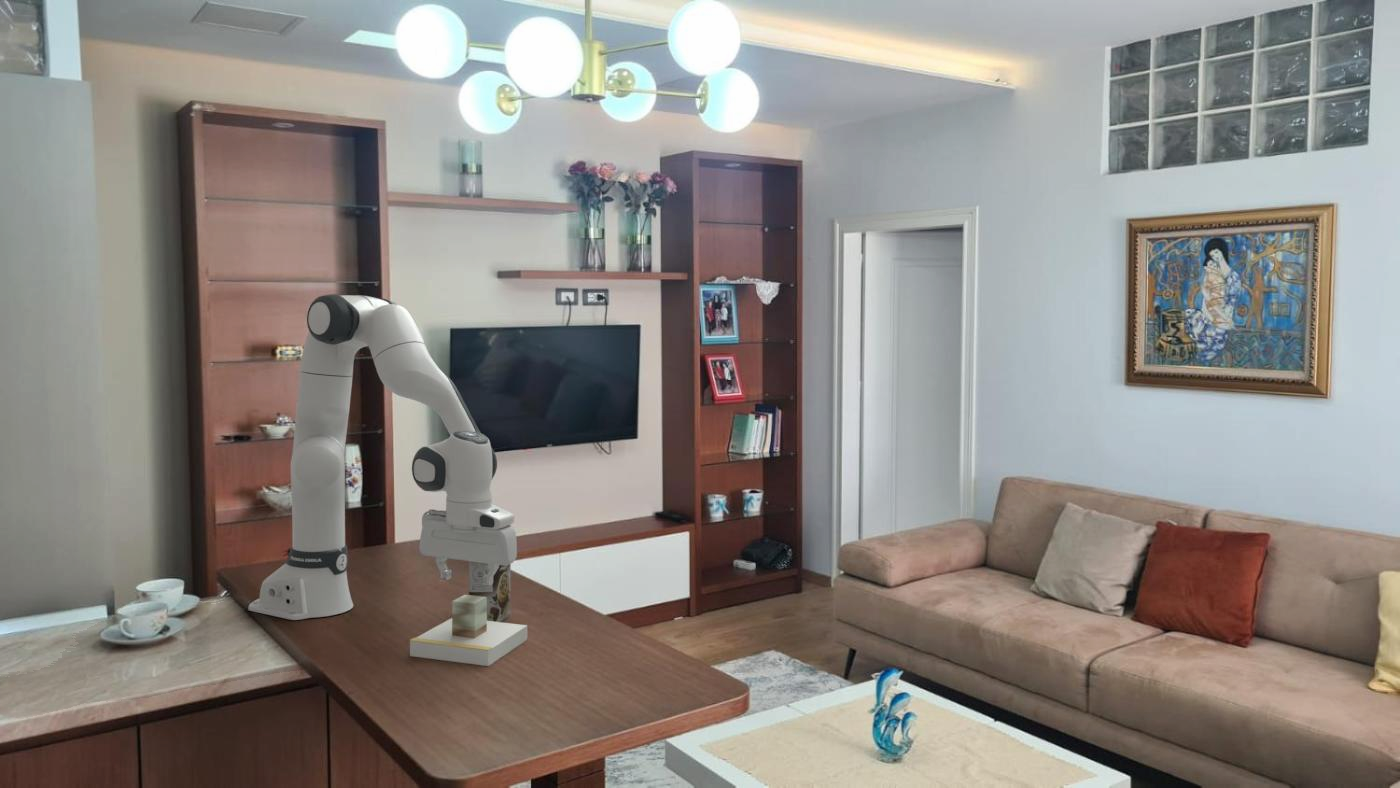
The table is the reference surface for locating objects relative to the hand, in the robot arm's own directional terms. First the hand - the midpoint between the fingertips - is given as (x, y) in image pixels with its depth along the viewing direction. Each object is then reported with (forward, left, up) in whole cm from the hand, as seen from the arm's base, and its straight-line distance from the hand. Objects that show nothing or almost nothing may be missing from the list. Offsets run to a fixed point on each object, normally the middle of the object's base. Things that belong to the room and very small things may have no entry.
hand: (466, 581), depth 214 cm
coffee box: (-4, +19, -14) cm, 24 cm away
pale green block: (0, 0, -11) cm, 11 cm away
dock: (+1, +1, -14) cm, 14 cm away
